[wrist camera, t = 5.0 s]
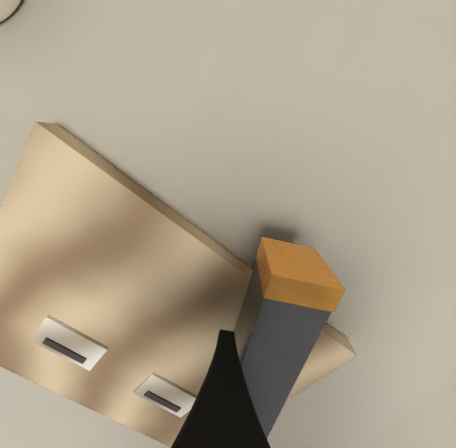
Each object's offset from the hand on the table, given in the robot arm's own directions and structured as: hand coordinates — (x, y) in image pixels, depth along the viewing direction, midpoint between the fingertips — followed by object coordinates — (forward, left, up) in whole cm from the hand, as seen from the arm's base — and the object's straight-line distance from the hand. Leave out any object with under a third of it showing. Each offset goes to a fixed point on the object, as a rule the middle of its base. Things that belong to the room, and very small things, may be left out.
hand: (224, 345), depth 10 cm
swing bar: (-4, +3, -2) cm, 5 cm away
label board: (+2, +7, -4) cm, 8 cm away
